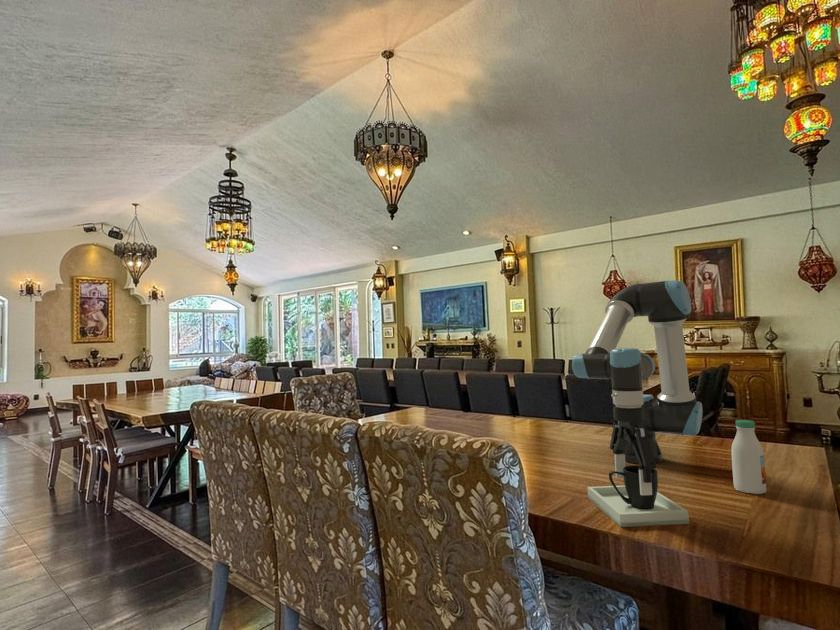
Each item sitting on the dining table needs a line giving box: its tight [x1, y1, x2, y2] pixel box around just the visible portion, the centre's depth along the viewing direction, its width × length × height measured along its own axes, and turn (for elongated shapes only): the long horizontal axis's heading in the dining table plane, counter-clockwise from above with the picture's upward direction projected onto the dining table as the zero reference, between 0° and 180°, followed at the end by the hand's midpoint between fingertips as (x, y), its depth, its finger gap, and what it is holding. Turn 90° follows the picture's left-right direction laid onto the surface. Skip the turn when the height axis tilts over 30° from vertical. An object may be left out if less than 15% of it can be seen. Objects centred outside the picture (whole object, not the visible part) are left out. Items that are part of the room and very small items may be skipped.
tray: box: [587, 484, 690, 528], centre depth 119 cm, size 17×20×3 cm
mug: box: [608, 464, 659, 510], centre depth 120 cm, size 8×12×10 cm
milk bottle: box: [730, 419, 767, 495], centre depth 130 cm, size 8×8×20 cm
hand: (632, 485), depth 119 cm, fingers open, 13 cm apart
